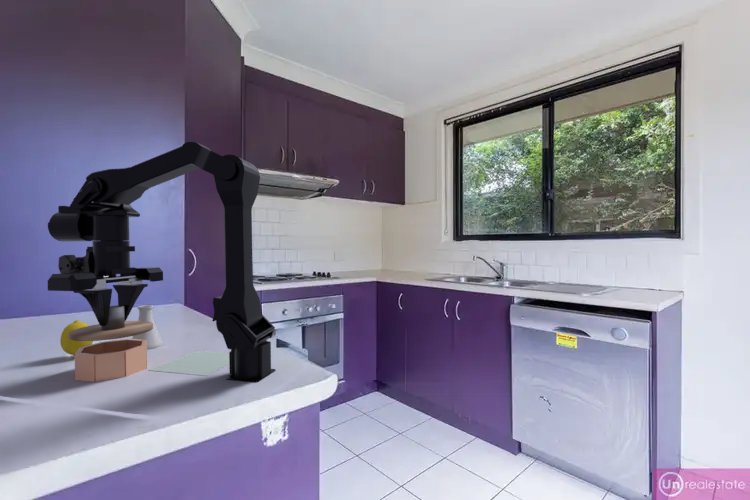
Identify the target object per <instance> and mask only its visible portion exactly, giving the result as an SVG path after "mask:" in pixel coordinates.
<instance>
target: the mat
mask: <svg viewBox="0 0 750 500" xmlns="http://www.w3.org/2000/svg"><path fill="white" fill-rule="evenodd" d="M227 366H229V352H219V351H205V350H196V351H193V352H190V353H188V354H186V355H182V356H181V357H178V358H176V359H173V360H170V361H168V362H164V363H163V364H160V365H158V366H155V367H153V368H150V369H148V371H150V372H163V373H170V374H172V373H173V374H180V375H181V374H182V375H192V376H193V375H194V376H200V377H201V376H202V377H204V376H205V377H208V376H210V375H212V374H214V373H216V372H218V371H220V370H221V369H224V368H225V367H227Z"/></svg>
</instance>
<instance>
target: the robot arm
mask: <svg viewBox="0 0 750 500" xmlns="http://www.w3.org/2000/svg"><path fill="white" fill-rule="evenodd" d="M199 169H201V171H202V170H203V171H205V172H206V173H209V174H210V175H213V181H214V186H215V191H216V193H217V195H218V198H219V199H220V201H221V202H220V203H221V204H222V206H223V217H224V218H223V219H224V220H223V221H224V223H223V224H224V225H223V226H224V227H223V228H224V260H225V261H224V265H225V266H224V267H225V268H224V269H225V270H224V271H225V272H224V273H225V278H224V279H225V286H224V290H223V292H222V295H219V296H216V297H213V298H212V307H213V317H212V320H211V321H212V322H215V324H216V330H217V332H218V333H220V334H221V335H222V337H223V339H224V342H225V345H226V348H227V350H230V351H229V352H228V353H229V365H228V366H229V367H228V369H229V370H228V371H229V374H230V375H228V376H226V377H225V380H226V381H235V382H245V383H256V384H257V383H259V382H261V381H262V380H264V379H266V378H267V377H269V376H270V375H272V374H273V373H274V372H276V368H272V348H271V347H272V341H268V340H269V339H271V338H273V335H274V332H275V329H276V327H275V325H273V324H272V323H271V321H270V320H269V319H267V318H266V317H265V316H264V314H263V309H262V306H261V299H260V297H259V295H258V292H257V291H256V288H255V285H254V269H253V268H254V267H253V266H254V265H253V223H252V221H253V215H252V212H253V211H252V210H253V206H254V204H255V202H256V199H257V197H258V194H259V188H260V181H261V180H260V179H261V175H260V171H259V169H258V168H257V167H256V166H255V165H254V164H253V163H251V162H249V161H247V160H245V159H243V158H241V157H239V156H237V155H235V154H229V153H228V154H224V155H221V154H219V153H218V152H215V151H213V150H211V149H210V148H209V147H207V146H205V145H203V144H201V143H199V142H198V141H197V142H196V141H191V140H190V141H187V142H185V143H183V144H182V145H181V146H179V147H176V148H174V149H172V150H169V151H166V152H164V153H162V154H159V155H156V156H155V157H154V156H153V157H152V158H149V159H147V160H144V161H142V162H139V163H137V164H135V165H132V166H129V167H124V168H108V169H103V170H98V171H94V172H91V173H90V174H88V175H87V176H86V177H85V181H84V183H83V185H82V186H81V188H80V189H79V191H78V192H77V194H76V195H75V197H74V198H73V199H72V201H71V203H70V205H58V208H57V209H58V210H57V211H58V212H56V213H54V214H53V215H52V216H51V217H50V218H49V221H48V222H47V230H48V232H49V235H51V238H53V239H54V240H55V241H58V242H62V243H63V242H91V243H92V246H87V247H86V250H85V255H84V256H78V257H77V256H76V255H75V254H66V255H65V254H63V255H61V256H59V257H58V270H59V273H52V274H51V275H50V277H49V278H48V280H47V291H48V292H49V291H51V292H52V291H53V292H73V294H79V295H81V296H82V297H83V298H84V299H85V300H86V301H87V302H88V304H89V306H90V307H91V310H92V312H93V314H94V315H95V318H96V320H97V322H98V324H100V326H106V325H107V321H108V317H109V310H110V306H111V303H112V295H113V289H114V290H115V292H116V293H117V305H123V306H124V320H125V321H127V319H128V317H129V315H130V314H131V311H132V310H133V308H134V306H135V304H136V302H137V300H138V299H139V297H140V296H141V294H142V292H143V291H144V289H145V288H146V287H149V286H148V285H149V284H148V283H143V281H149V282H152V283H153V282H161V281H162V282H163V281H164V271H163V270H162V269H161V267H159V266H158V267H154V266H153V267H152V266H151V267H149V266H147V267H145V266H144V267H143V266H142V267H141V266H140V267H134V266H132V267H131V252H136V246H134V245H130V244H131V241H130V218H139V217H140V216H141V213H140V212H139V211H137V210H136V209H134V208H133V206H132V205H131V204H132V203H134V202H136V201H138V199H140V198H142V196H143V195H144V193H145V192H146V191H147V190H149V189H151V188H154V187H156V186H158V185H161V184H163V183H167V182H169V181H170V180H173V179H175V178H178V177H181V176H183V175H187V174H189V173H191V172H194V171H197V170H199ZM112 283H117V284H112ZM107 284H112V287H113V288H107Z"/></svg>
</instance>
